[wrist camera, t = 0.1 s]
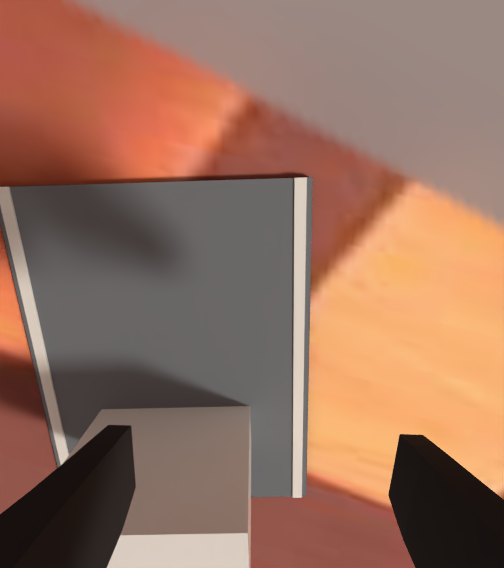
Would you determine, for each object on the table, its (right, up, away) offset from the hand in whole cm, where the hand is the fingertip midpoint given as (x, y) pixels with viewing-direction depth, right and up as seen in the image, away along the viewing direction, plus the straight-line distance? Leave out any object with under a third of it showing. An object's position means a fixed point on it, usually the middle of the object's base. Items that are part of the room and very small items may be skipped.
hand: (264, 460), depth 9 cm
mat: (-5, 0, +10) cm, 11 cm away
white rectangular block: (-5, -4, +11) cm, 13 cm away
